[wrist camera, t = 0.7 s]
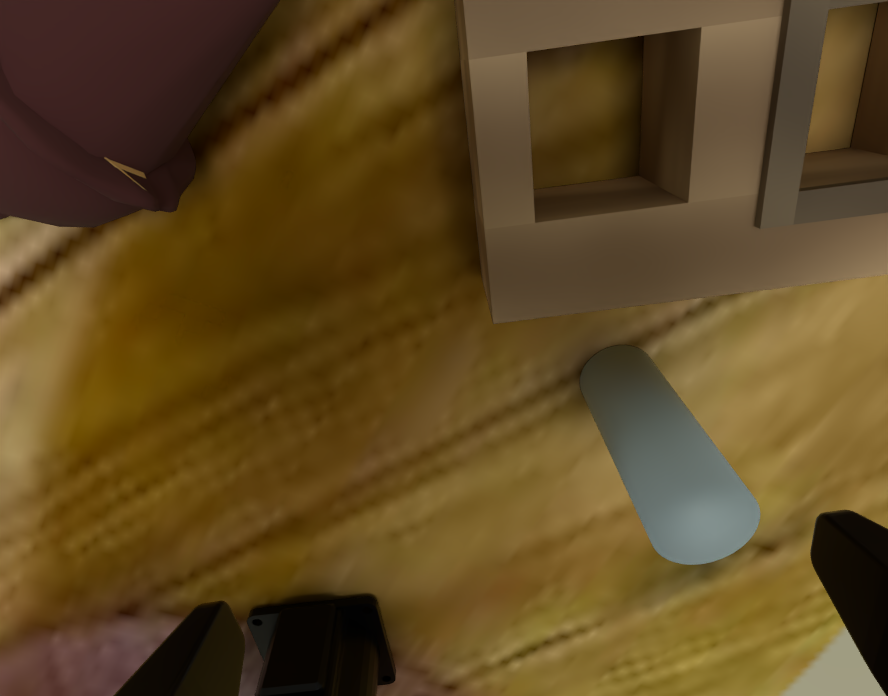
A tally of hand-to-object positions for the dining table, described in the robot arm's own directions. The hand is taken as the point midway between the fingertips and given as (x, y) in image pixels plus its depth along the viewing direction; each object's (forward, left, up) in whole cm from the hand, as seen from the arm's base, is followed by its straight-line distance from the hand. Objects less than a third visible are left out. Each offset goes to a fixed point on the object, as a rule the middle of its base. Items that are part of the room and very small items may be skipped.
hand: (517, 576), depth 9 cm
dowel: (-5, -6, -13) cm, 15 cm away
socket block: (+5, -8, -13) cm, 16 cm away
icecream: (+8, +9, -14) cm, 18 cm away
